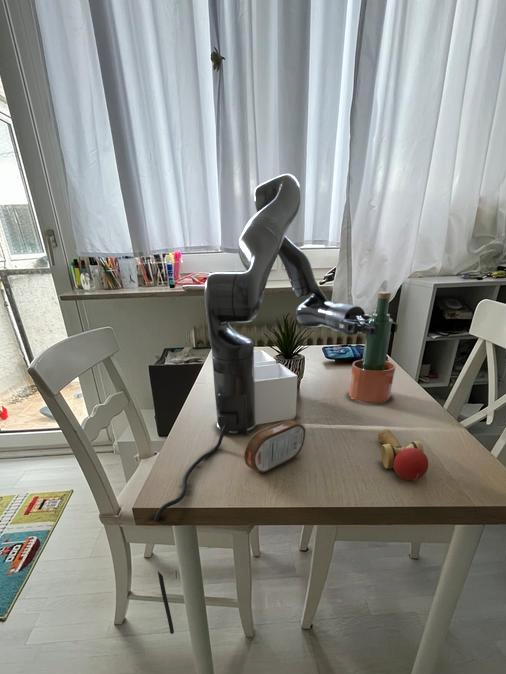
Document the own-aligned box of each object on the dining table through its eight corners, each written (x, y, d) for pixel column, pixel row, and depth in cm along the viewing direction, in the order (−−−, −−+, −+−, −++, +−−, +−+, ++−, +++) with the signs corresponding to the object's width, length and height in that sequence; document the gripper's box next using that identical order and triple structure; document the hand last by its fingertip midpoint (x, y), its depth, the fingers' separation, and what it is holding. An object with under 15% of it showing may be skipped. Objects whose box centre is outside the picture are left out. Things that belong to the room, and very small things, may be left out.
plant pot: (392, 405, 103) (399, 371, 99) (350, 403, 105) (354, 370, 100) (386, 390, 113) (391, 359, 108) (347, 389, 114) (350, 358, 109)
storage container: (295, 418, 98) (297, 375, 92) (254, 425, 96) (253, 381, 90) (262, 387, 118) (262, 350, 112) (227, 391, 116) (225, 354, 110)
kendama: (362, 448, 86) (390, 482, 70) (370, 420, 84) (401, 450, 68) (395, 452, 87) (431, 488, 71) (404, 425, 84) (443, 456, 68)
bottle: (382, 389, 104) (399, 294, 91) (360, 388, 105) (373, 294, 92) (379, 382, 109) (395, 290, 96) (358, 381, 110) (370, 290, 97)
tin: (295, 449, 84) (297, 412, 80) (306, 454, 82) (309, 417, 78) (243, 474, 76) (242, 435, 72) (254, 480, 74) (253, 441, 70)
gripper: (324, 306, 105) (365, 316, 92) (366, 301, 110) (411, 310, 97) (322, 335, 109) (360, 348, 96) (363, 329, 114) (405, 341, 101)
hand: (385, 329), depth 97 cm, fingers closed on bottle, 6 cm apart
